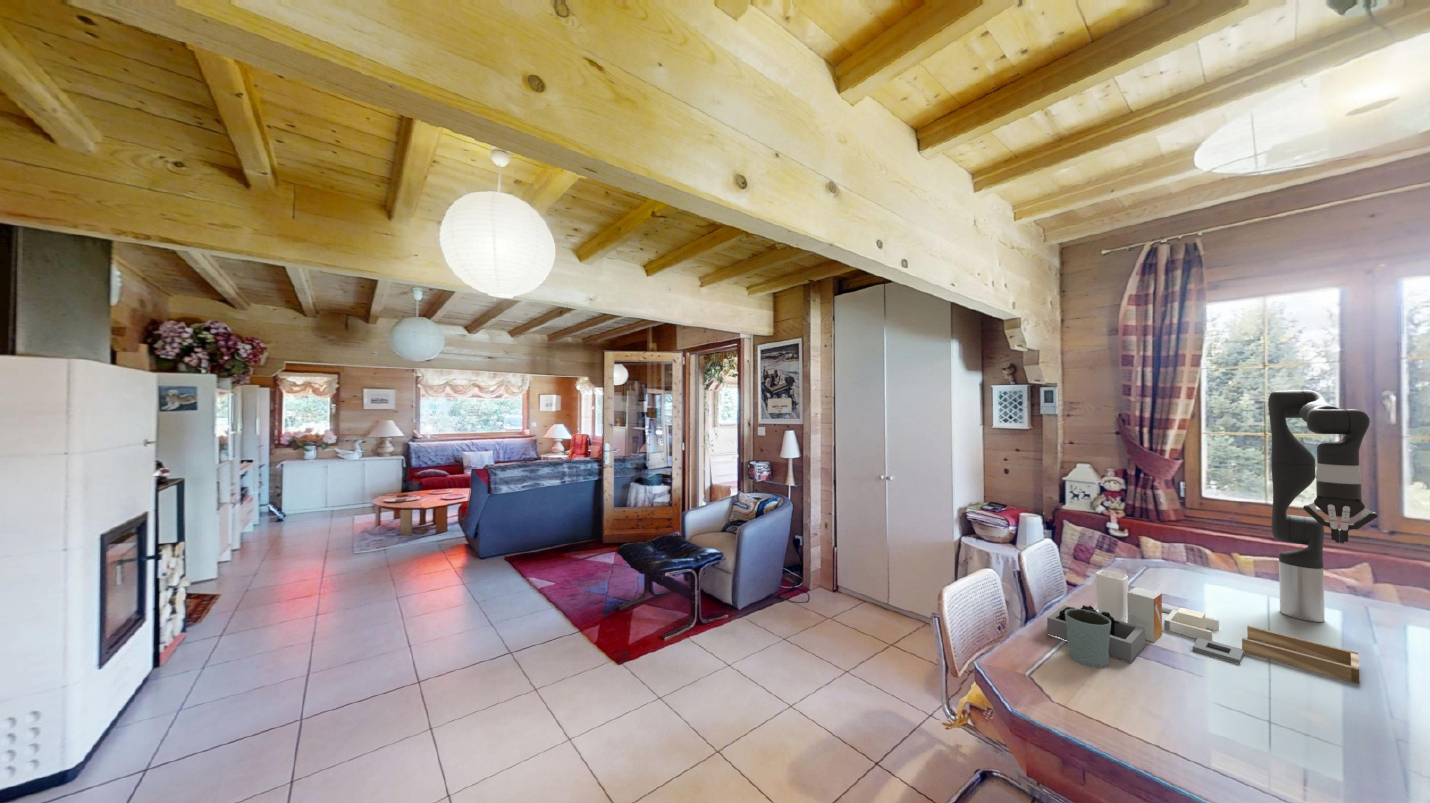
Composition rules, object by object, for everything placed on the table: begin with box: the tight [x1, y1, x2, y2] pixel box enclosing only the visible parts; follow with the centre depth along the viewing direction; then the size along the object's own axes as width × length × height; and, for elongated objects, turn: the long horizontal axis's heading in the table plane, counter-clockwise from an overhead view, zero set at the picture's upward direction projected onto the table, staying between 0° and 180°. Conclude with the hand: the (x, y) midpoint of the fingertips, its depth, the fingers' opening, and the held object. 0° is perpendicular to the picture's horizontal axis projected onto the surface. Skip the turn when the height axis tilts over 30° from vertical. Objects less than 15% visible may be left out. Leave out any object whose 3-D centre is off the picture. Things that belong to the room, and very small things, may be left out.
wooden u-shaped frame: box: [1241, 625, 1361, 685], centre depth 129 cm, size 13×20×4 cm
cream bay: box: [1163, 608, 1220, 641], centre depth 145 cm, size 13×10×3 cm
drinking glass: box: [1065, 608, 1111, 668], centre depth 129 cm, size 10×10×12 cm
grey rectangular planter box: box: [1046, 605, 1146, 664], centre depth 139 cm, size 15×20×6 cm
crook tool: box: [1162, 606, 1174, 614], centre depth 154 cm, size 4×13×1 cm, turn 44°
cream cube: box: [1177, 607, 1206, 630], centre depth 145 cm, size 6×6×6 cm
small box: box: [1127, 586, 1163, 643], centre depth 142 cm, size 8×6×13 cm
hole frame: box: [1192, 637, 1245, 665], centre depth 132 cm, size 9×9×1 cm
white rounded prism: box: [1095, 569, 1129, 622], centre depth 153 cm, size 7×7×15 cm
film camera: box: [1059, 604, 1120, 636], centre depth 138 cm, size 15×10×9 cm, turn 78°
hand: (1339, 542), depth 129 cm, fingers closed
